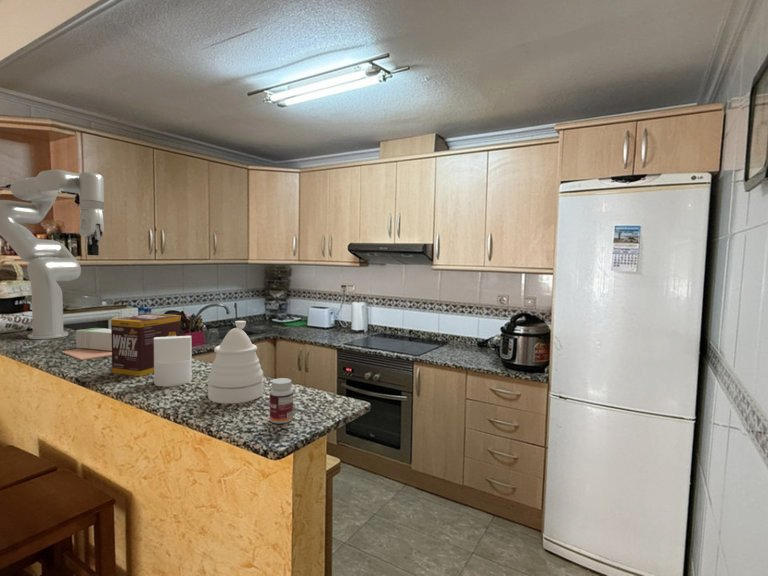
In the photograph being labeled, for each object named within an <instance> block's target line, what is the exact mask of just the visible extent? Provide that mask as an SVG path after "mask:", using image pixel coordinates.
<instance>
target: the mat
mask: <svg viewBox="0 0 768 576" xmlns="http://www.w3.org/2000/svg"><path fill="white" fill-rule="evenodd" d="M60 352H61V354H64V353H65V354H64V355H67V356H69V355H70V357H73V358H74V357H75V358H74V359H76V360H79V361H86V360H91V359H92V360H93V359H98V358H99V359H100V358H104V357H112V351H108V350H97V349H86V348H76V349H69V350H61V351H60Z"/></svg>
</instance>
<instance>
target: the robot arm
mask: <svg viewBox="0 0 768 576" xmlns="http://www.w3.org/2000/svg"><path fill="white" fill-rule="evenodd" d="M104 182H105V180H104V176H103V175H102V174H99V173H98V172H97V173H95V172H90V171H89V172H87V171H84V172H83V171H82V172H80V173H77V172H73V171H72V172H71V171H69V170H63V169H46V170H42V171H40V172H39V173H38V174H37V176H33V177H26V178H20V179H16V180H14V181H13V182H12V183H11V184H10V187H9V189H10V192H11V194H12V195H13V196H14V197H15V198H17V199H18V201H17V200H11V199H10V200H9V199H0V236H1V238H3V239H4V240H5V241H6V243H7V244H8V245H9V246H10V247H11V249H13V251H14V252H15V253H16V255H17V256H18V257H19V258H20V259H21V260H22V261H24V262H27V263H28V264H27V268H26V269H27V274H28V275H27V276H28V277H29V278H28V279H29V281H30V282H29V283H30V290H31V291H30V292H31V312H32V313H31V315H32V319H31V320H32V321H31V322H32V333H29V334H27V339H30V340H50V339H51V340H52V339H58V338H59V339H60V338H64V337H67V336H68V335H69V332H68V331H65V330H64V306H63V305H64V303H63V302H64V300H63V299H64V298H63V295H64V294H63V291H62V288H61V287H60V285H59V284H58V282H68V281H70V282H71V281H74V280H77V279H79V277H80V276H81V273H82V268H81V265H80V263H79V261H78V260H77V258H75V256H74V255H73V253H71V252H70V251H69V249H68V248H67V247H66V246H65V245H64V244H63V243H62V242H60V241H57V240H53V239H43V238H42V239H41V238H38V237H36V236H35V235H34V234H33V233H32V232H31V230H29V229H28V228H27V227H25V226H24V225H22V224H39V223H41V222H42V221H43V220H44V219H45V217H46V215H48V213H49V211H50V210H51V208H52V207H53V205H54V204H55V202H56V200H57V197H58V194H59V191H60V192H66V193H73V194H78V195H79V210H80V215H79V236H81V237H84V240H86V248H87V249H86V253H87V254H86V255H88V256H99V254H100V253H99V252H100V251H99V250H100V248H99V247H100V246H99V244H100V240H101V237H102V236H104V233H105V226H104V225H105V224H104V215H103V214H104V213H103V212H105V187H104V185H105V183H104ZM19 200H22V201H19ZM25 201H26V202H25ZM27 201H28V202H27ZM20 223H21V224H20Z"/></svg>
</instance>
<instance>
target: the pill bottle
mask: <svg viewBox="0 0 768 576" xmlns="http://www.w3.org/2000/svg"><path fill="white" fill-rule="evenodd" d="M293 412H294V390H293V388H292V379H290V378H288V377H287V378H286V377H279V378H278V377H277V378H275V379H272V380H271V389H270V391H269V421H270V422H271V423H273V424H288V423H289V422H291V421H292V420H293V418H294V416H293V415H294V413H293Z"/></svg>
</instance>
